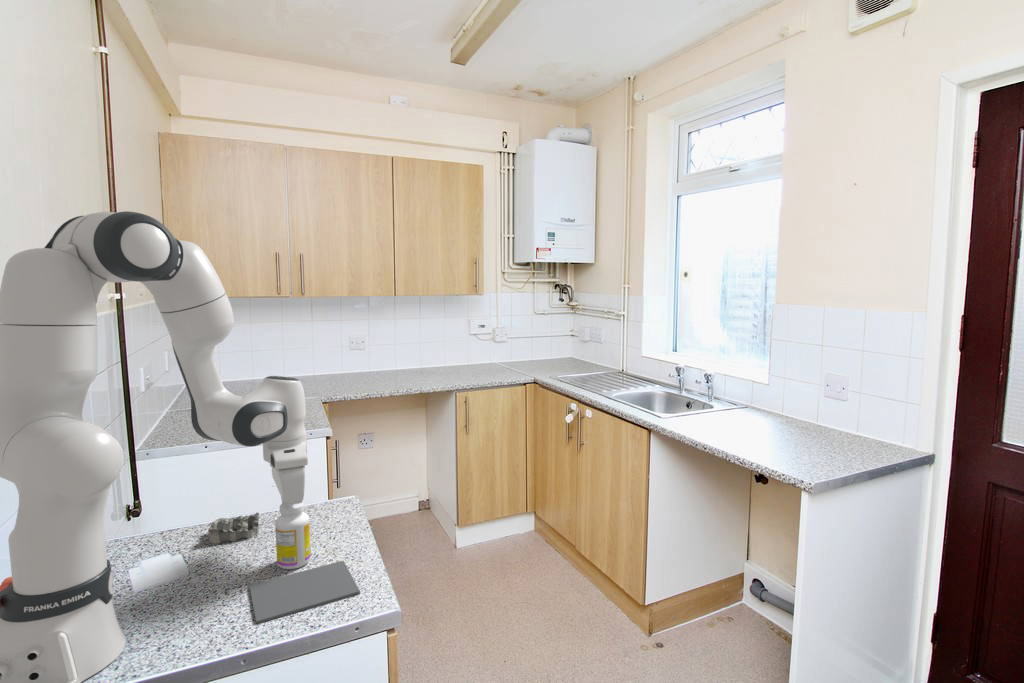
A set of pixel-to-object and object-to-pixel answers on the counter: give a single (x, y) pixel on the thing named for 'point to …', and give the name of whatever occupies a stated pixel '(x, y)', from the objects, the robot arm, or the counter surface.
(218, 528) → the egg carton
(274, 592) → the mat
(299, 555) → the supplement bottle
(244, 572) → the counter surface
